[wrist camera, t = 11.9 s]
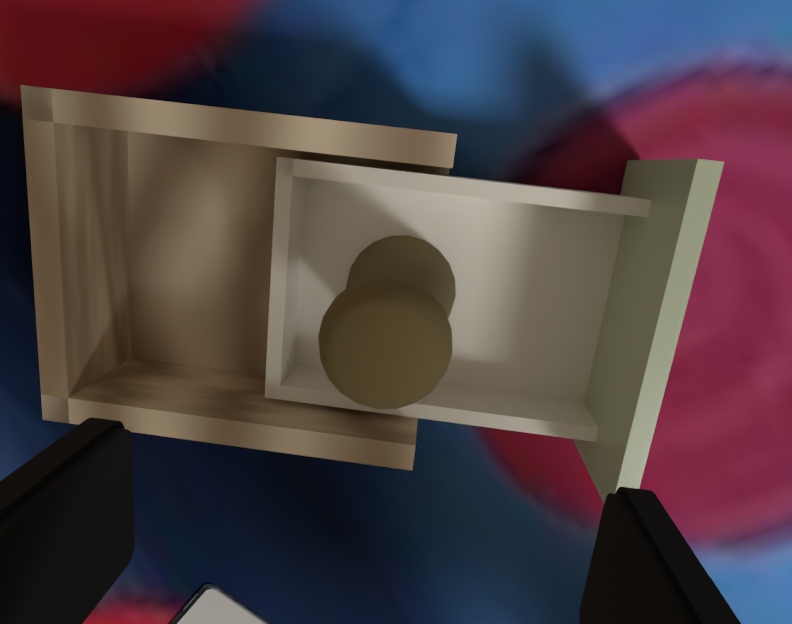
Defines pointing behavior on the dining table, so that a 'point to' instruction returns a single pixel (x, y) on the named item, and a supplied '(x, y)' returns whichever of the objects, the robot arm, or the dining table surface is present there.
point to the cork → (390, 324)
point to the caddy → (184, 267)
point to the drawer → (507, 294)
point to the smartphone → (216, 609)
